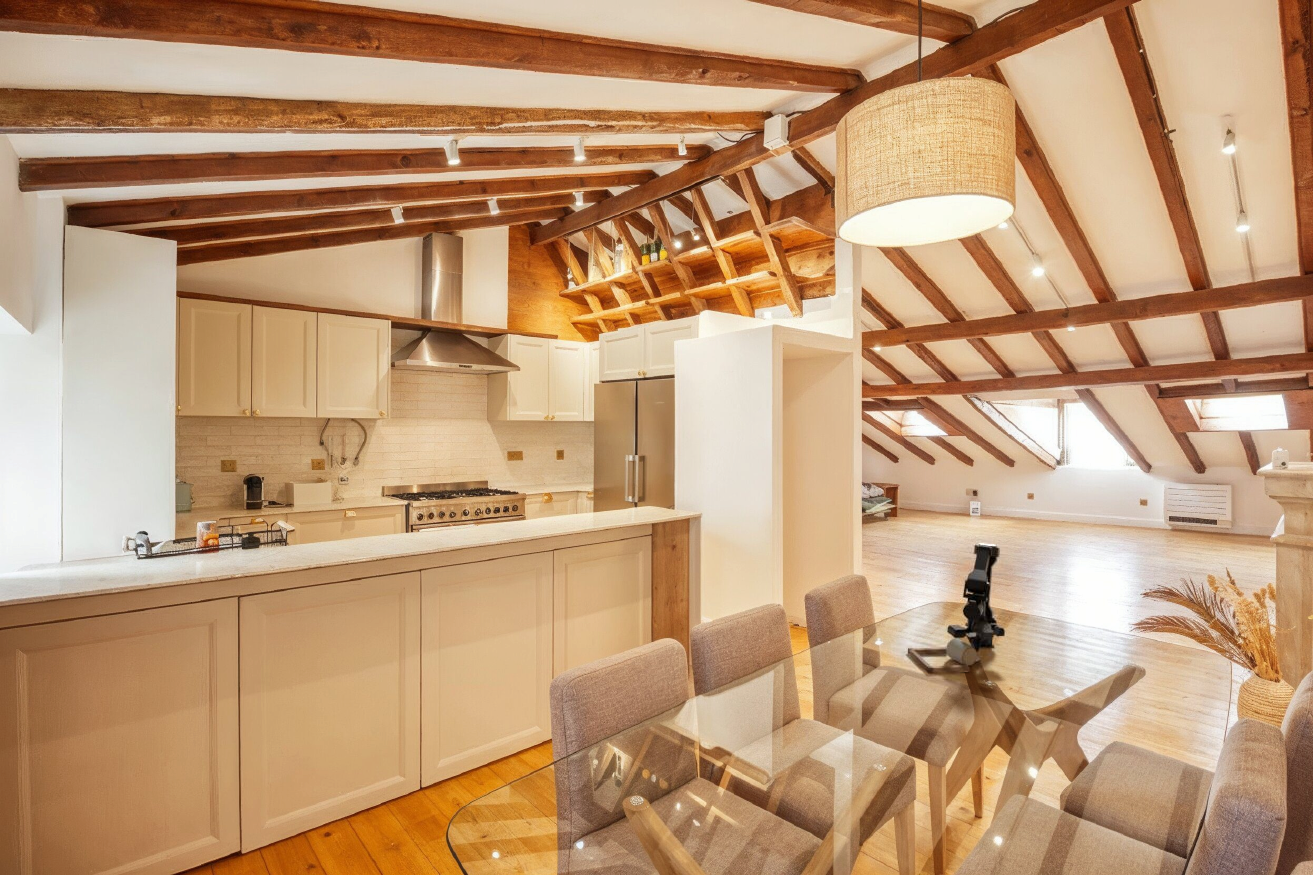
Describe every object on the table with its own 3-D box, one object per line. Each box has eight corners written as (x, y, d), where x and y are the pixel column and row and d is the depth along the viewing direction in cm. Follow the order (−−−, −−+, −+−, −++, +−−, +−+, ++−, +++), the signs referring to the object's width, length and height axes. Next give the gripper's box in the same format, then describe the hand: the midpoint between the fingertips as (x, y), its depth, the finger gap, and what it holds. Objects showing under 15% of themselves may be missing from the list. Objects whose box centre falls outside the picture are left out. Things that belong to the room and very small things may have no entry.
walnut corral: (945, 652, 240) (945, 647, 240) (969, 672, 223) (969, 666, 223) (907, 653, 239) (907, 648, 239) (928, 673, 222) (928, 667, 222)
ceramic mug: (962, 668, 226) (963, 647, 225) (945, 658, 234) (946, 638, 233) (985, 664, 229) (986, 643, 229) (967, 655, 237) (968, 635, 237)
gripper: (963, 620, 222) (962, 663, 223) (1014, 618, 223) (1013, 661, 224) (946, 609, 233) (946, 650, 234) (996, 607, 234) (995, 648, 235)
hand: (975, 653), depth 231 cm, fingers closed
